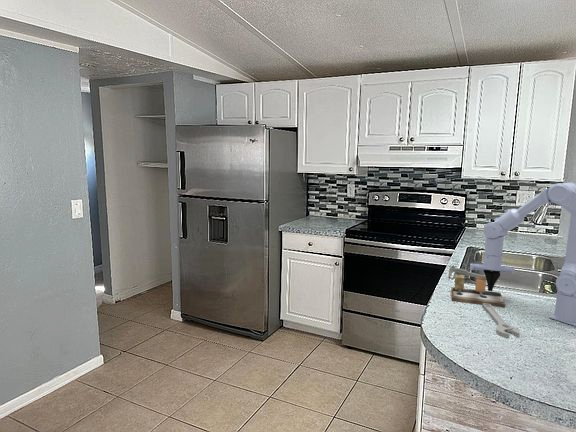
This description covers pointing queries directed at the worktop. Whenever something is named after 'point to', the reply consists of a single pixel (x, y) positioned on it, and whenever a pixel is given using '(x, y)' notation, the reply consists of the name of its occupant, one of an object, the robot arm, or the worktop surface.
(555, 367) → the worktop surface
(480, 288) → the block
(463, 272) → the caliper
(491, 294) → the board
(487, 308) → the adjustable wrench
